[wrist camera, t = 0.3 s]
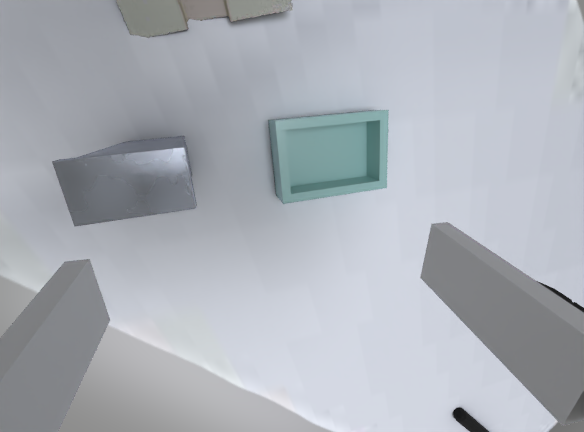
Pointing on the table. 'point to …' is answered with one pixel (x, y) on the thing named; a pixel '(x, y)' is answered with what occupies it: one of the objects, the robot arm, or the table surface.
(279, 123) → the tray
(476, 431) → the gadget
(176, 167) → the brushed metal pillar
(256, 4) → the wall
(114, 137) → the table surface
